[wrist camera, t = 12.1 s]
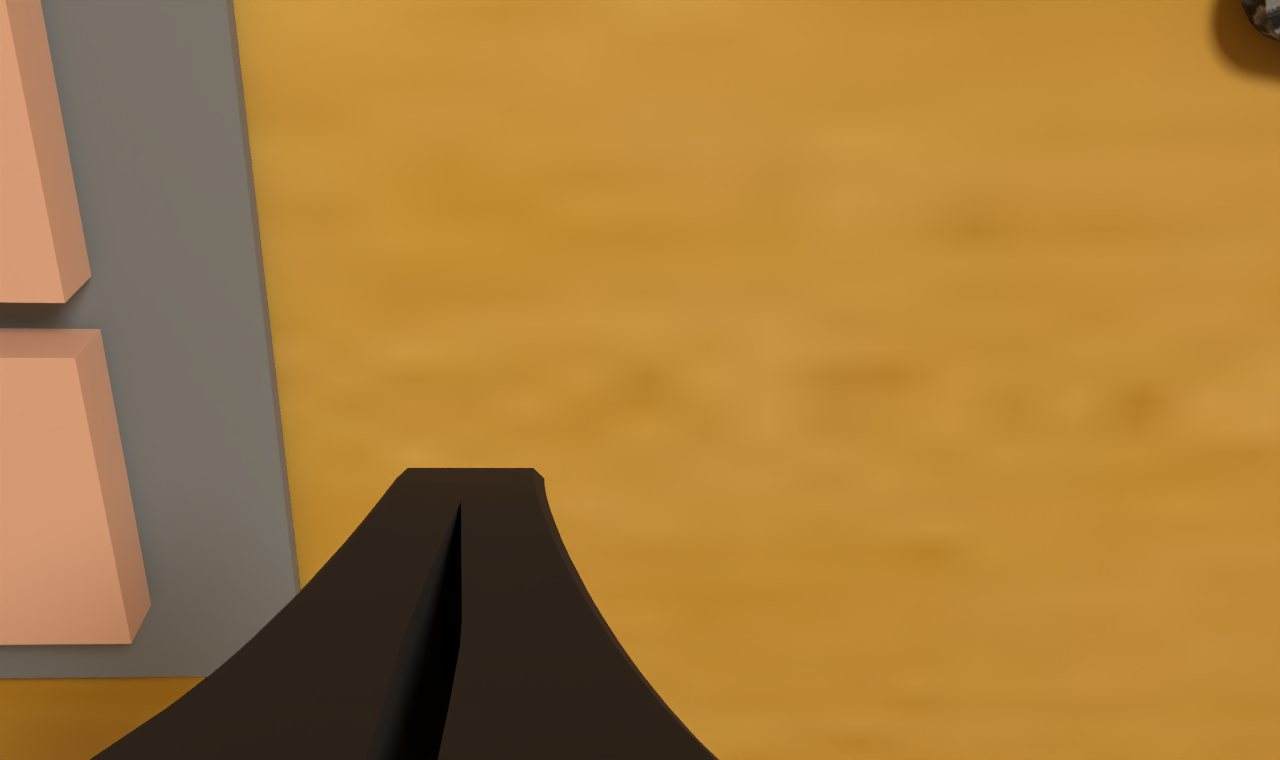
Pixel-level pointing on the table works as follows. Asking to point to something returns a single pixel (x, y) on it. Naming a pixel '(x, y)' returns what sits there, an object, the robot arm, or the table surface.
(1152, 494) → the table surface
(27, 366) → the tile
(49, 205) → the tile
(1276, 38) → the phone
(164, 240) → the mat
